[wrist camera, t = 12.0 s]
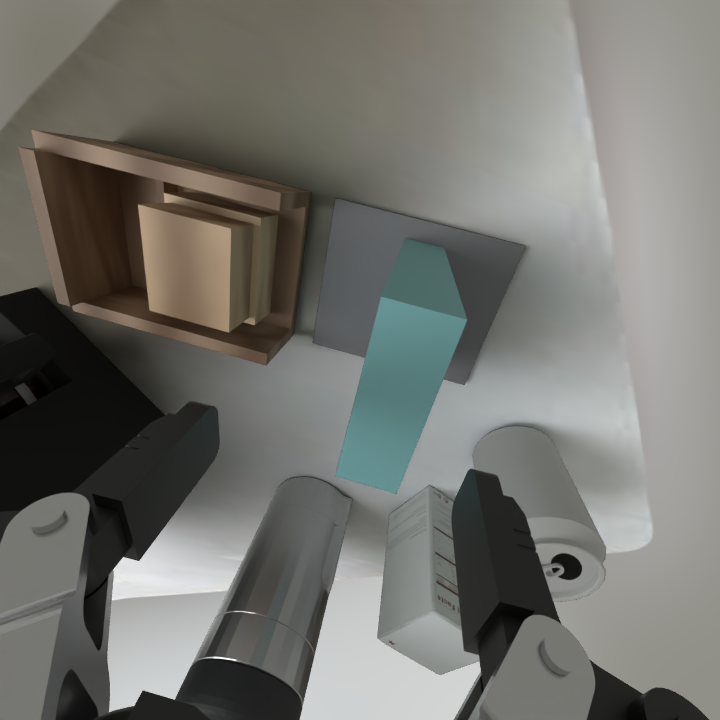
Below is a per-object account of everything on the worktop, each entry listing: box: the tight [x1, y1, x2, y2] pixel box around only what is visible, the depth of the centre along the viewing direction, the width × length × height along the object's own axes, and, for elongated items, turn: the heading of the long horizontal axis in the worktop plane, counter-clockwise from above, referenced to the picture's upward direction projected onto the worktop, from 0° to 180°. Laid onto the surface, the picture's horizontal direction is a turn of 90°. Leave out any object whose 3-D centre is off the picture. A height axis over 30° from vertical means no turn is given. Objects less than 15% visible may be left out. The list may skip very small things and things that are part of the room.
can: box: [473, 426, 606, 602], centre depth 27 cm, size 8×8×12 cm
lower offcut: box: [164, 192, 278, 325], centre depth 26 cm, size 7×8×3 cm
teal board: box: [335, 238, 467, 494], centre depth 20 cm, size 3×9×15 cm, turn 168°
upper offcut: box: [138, 203, 254, 332], centre depth 23 cm, size 6×7×3 cm
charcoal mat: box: [313, 198, 526, 385], centre depth 27 cm, size 14×12×1 cm
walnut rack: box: [19, 130, 312, 365], centre depth 25 cm, size 16×12×7 cm
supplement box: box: [377, 486, 480, 675], centre depth 33 cm, size 7×7×13 cm
